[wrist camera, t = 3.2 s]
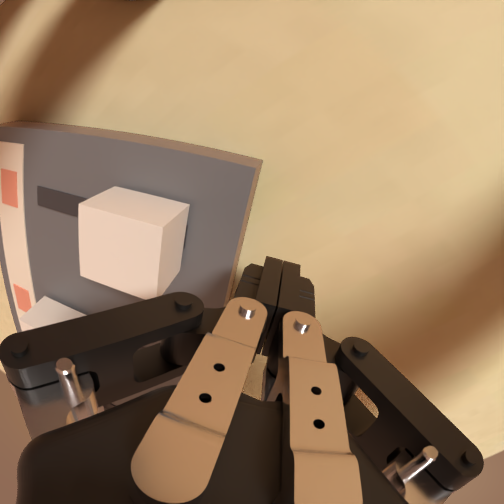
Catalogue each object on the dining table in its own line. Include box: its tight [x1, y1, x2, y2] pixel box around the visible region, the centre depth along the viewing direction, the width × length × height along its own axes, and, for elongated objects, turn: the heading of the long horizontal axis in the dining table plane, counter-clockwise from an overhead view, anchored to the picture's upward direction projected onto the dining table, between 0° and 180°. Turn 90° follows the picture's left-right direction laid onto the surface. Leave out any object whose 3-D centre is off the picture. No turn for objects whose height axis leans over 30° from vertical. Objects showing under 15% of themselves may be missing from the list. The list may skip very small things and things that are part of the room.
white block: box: [78, 186, 190, 300], centre depth 13 cm, size 4×4×3 cm
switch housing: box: [0, 121, 263, 411], centre depth 20 cm, size 18×26×3 cm
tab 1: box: [19, 296, 86, 331], centre depth 18 cm, size 4×4×3 cm
